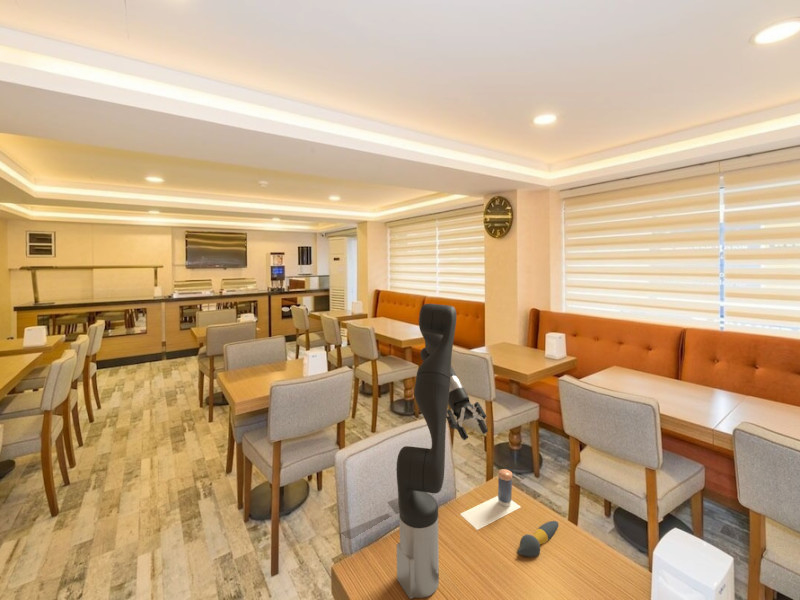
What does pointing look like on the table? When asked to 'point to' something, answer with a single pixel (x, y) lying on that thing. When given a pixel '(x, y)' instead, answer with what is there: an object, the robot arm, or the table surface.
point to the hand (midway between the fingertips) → (476, 435)
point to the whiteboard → (487, 512)
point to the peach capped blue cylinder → (504, 487)
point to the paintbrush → (537, 539)
